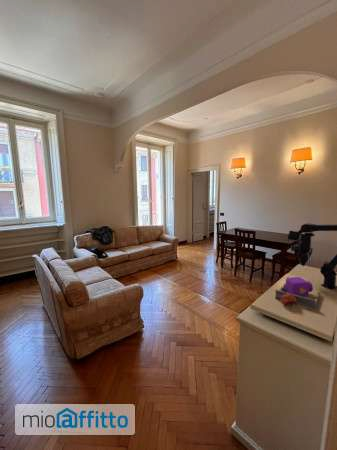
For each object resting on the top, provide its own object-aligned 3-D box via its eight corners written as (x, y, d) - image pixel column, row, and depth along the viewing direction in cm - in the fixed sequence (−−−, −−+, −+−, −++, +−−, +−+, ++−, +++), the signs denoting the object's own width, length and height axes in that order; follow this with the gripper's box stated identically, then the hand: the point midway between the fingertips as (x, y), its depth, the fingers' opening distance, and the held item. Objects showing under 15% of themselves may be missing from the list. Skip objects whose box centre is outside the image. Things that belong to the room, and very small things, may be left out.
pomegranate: (298, 312, 110) (292, 294, 116) (300, 306, 105) (294, 288, 111) (283, 312, 112) (278, 294, 118) (284, 306, 107) (279, 288, 113)
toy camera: (316, 296, 120) (317, 280, 119) (296, 300, 118) (297, 283, 116) (301, 288, 131) (301, 273, 129) (282, 291, 128) (283, 276, 127)
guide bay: (284, 286, 134) (284, 279, 133) (320, 295, 121) (320, 287, 120) (275, 298, 120) (275, 290, 119) (314, 310, 107) (315, 301, 106)
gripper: (295, 238, 150) (294, 258, 152) (288, 243, 136) (287, 265, 139) (313, 239, 142) (312, 261, 145) (308, 245, 129) (307, 269, 131)
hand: (304, 264), depth 140 cm, fingers open, 9 cm apart
